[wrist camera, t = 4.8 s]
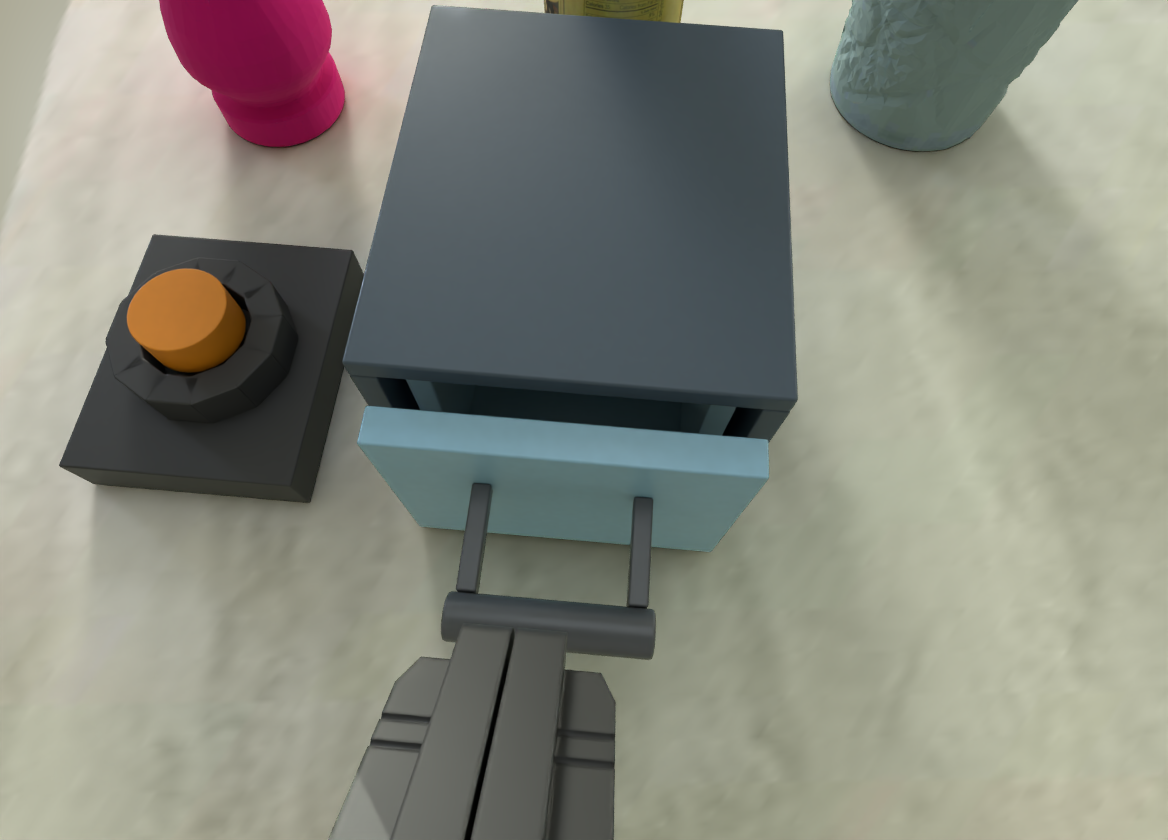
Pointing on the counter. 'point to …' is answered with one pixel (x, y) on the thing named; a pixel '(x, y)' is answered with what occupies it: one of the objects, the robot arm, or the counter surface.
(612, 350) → the grey drawer cabinet
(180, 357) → the button
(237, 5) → the pepper mill
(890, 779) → the counter surface
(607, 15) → the sauce bottle
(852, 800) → the counter surface
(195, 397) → the block
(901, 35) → the embossed plant pot
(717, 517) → the light blue drawer
